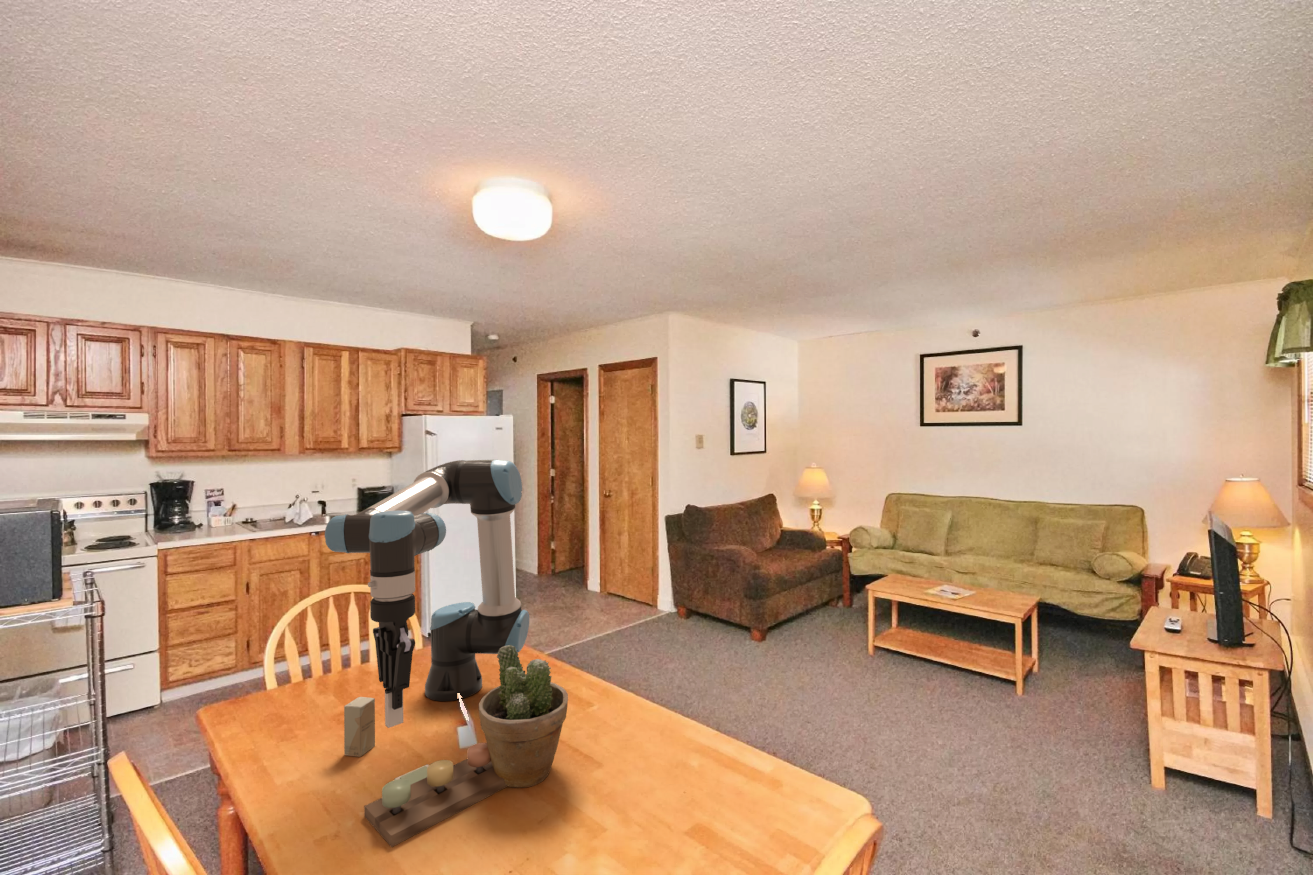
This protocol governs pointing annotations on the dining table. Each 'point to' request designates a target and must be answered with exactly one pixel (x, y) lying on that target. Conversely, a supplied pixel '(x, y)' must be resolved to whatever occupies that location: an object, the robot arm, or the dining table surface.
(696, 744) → the dining table surface
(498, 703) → the potted plant
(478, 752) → the button terracotta
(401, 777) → the swatch
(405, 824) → the board
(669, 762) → the dining table surface
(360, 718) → the box
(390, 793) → the button green
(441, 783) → the button ochre
